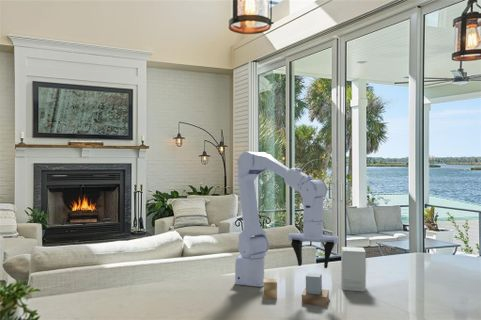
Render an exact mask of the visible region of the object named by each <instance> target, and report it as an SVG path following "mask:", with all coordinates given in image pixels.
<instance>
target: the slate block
mask: <svg viewBox="0 0 481 320" xmlns="http://www.w3.org/2000/svg"><path fill="white" fill-rule="evenodd" d="M322 276H323V275H322V273H316V272H308V273H307V274H306V275H305V288H306V293H308V294H319V295H320V293H321V291H322V289H323V284H322V282H323V281H322Z"/></svg>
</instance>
